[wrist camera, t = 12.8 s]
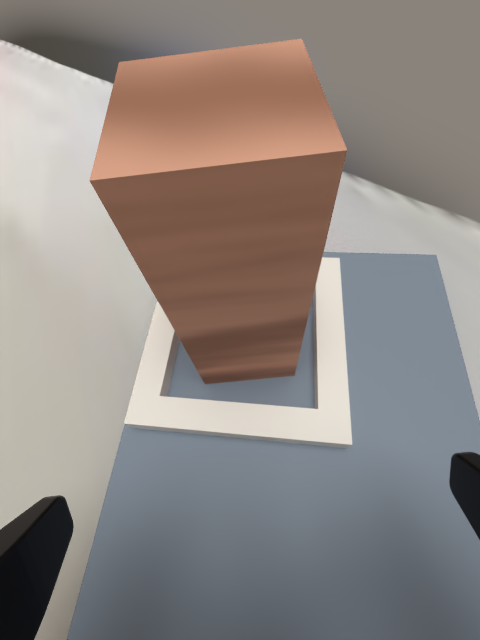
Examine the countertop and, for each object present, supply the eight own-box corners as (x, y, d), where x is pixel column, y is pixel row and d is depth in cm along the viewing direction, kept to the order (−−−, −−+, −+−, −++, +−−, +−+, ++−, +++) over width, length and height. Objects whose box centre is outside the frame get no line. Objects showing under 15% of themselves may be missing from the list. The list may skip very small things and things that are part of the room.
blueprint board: (549, 761, 11) (610, 818, 9) (69, 668, 13) (35, 699, 11) (429, 264, 21) (445, 242, 19) (175, 257, 23) (167, 236, 22)
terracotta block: (294, 375, 17) (347, 149, 6) (205, 384, 17) (89, 180, 6) (281, 300, 20) (301, 38, 8) (203, 308, 20) (119, 62, 9)
